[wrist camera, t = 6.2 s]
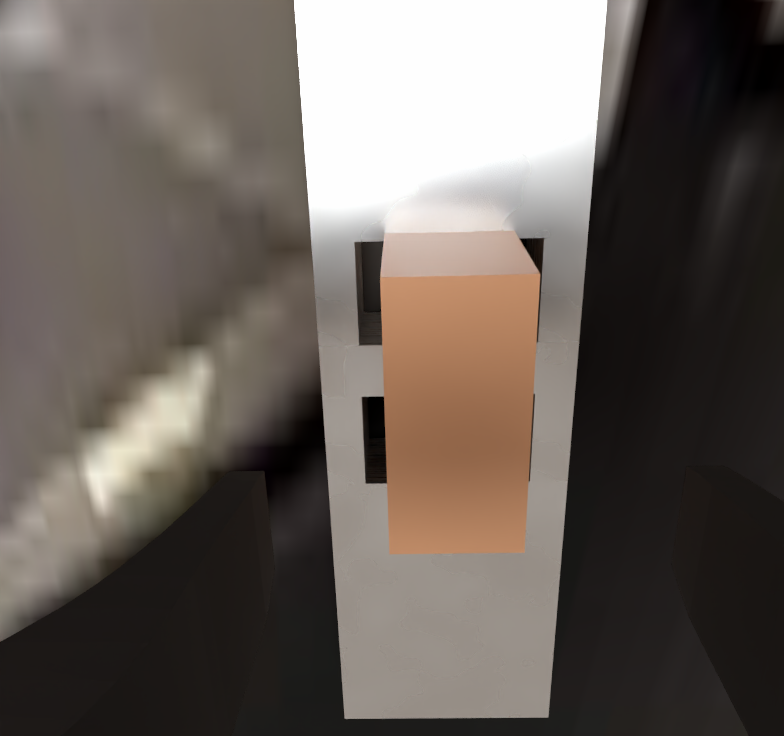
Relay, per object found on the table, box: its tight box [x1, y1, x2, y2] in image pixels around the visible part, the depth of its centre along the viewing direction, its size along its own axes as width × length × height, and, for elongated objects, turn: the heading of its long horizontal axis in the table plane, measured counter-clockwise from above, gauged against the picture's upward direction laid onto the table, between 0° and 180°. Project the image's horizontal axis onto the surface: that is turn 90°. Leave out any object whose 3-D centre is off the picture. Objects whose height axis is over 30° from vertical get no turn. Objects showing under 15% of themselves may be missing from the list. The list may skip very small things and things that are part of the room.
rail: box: [294, 0, 607, 719], centre depth 20 cm, size 6×24×2 cm, turn 1°
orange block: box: [380, 231, 540, 554], centre depth 18 cm, size 3×6×6 cm, turn 1°
